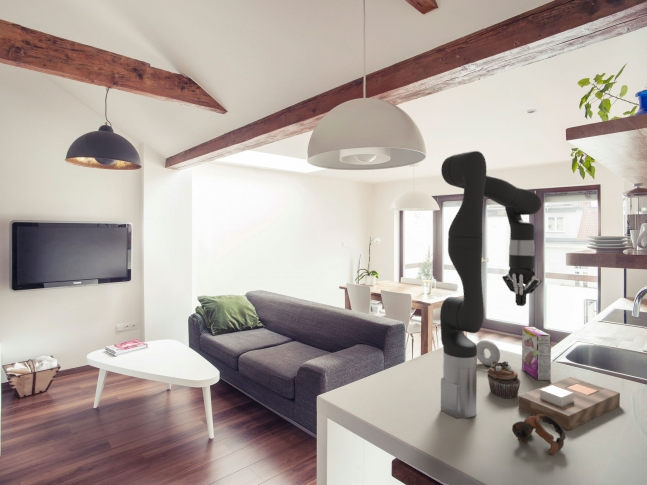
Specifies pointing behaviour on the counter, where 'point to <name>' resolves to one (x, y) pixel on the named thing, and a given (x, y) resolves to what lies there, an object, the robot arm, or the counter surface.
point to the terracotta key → (582, 389)
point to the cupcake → (503, 380)
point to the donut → (493, 351)
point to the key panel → (571, 404)
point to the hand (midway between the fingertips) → (520, 305)
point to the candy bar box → (536, 353)
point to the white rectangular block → (556, 395)
